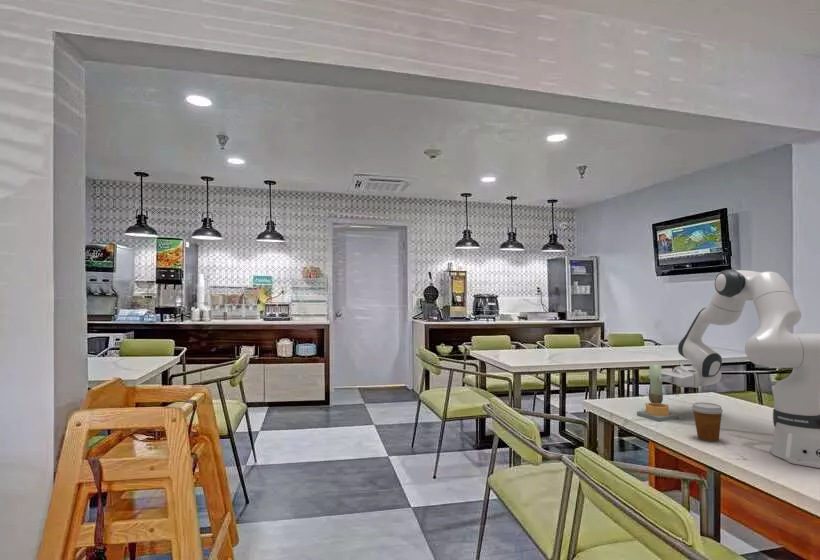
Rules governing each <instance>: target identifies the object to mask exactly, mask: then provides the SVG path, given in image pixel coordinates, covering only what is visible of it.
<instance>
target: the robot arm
mask: <svg viewBox="0 0 820 560" xmlns="http://www.w3.org/2000/svg"><path fill="white" fill-rule="evenodd" d="M714 288H715V291H714V293H713V294H712V297H711V299H710V302H709V304H708V305H707V307H703V308H702V309H700V311H699V312H698V313H697V314H696V316H695V318H694V320H693V321H692V322H691V325H690V326H689V328H688V330H687V331H686V334H685V335H684V336H683V338H682V339H681V340H680V341H679V343H678V347H677V351H678V353H679V355H680V356H682V358H684V359H686V360H687V361H689V362H690V363H691V365H682V366H681V365H680V366H679V365H678V366H675V367H674V368H673V369H672V370H666V369H661V371H662V377H658V381H660V382H662V383H663V382H665V383H668V384H669V383H670V384H673V385H676V386H677V387H679V388H695V389H697V388H699V387H707V386H712V385H716V384H717V383H719V382H720V381H721V379H722V372H721V367H722V364H723V358H722V356H721V355H720V354H719V353H718V352H717V351H715V350H714V349H713V348H711V347H709V345H707V344H705V342H703V340H702V337H703V335H704V334H705V332H706V331H707V329H708V326H710V325H715V326H729V325H732V324H735V323H737V322H738V320H739V319H740V317H741V315H742V312H743V310H744V307H745V304H746V301H752V302H753V304H754V307H755V310H756V313H757V316H758V320H759V321H758V322H759V325H758V329H757V331H756V332H755V333H754V334H752V335H751V336H750V337H749V338H747V340H746V342H745V346H744V351H745V356H746V357H747V359H748V360H749V361H750V362H751V363H752V364H754V365H758V366H762V367H768V368H780V369H781V368H785V369H788V368H789V369H792V372H791V373H789V375H788V376H787V377H785V378H783V379H781V380H778V381H777V382H776V383H775V385H774V387H773V399H774V400H773V401H774V408H773V409H772V423H773V426H774V435H773V441H772V444H771V448H770V453H771V455H773V456H775V457H777V458H780V459H783V460H785V461H786V462H788V463H791V464H794V465H799V466H804V467H810V468H817V469H820V333H801V332H800V333H797V332H796V333H793V332H790V331H789V330H788V329H790V328H792V327H794V326H796V325H797V324H798V323H799V322H800V321H801V318H802V312H801V309H800V307H799V306H798V302H797V301H796V299H795V296H794V294H793V292H792V289H791V287H790V286H789V284H788V283H787V281H786V280H785V279H784V277H783V276H782V275H781V274H779V273H778V272H775V271H763V272H760V271H754V270H745V269H743V270H741V269H725V270H721V271H720V272H719V273H718V274H717V275H716V277H715V280H714ZM647 377H648V379H649V380H650V369H649V370H648V376H647Z"/></svg>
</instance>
